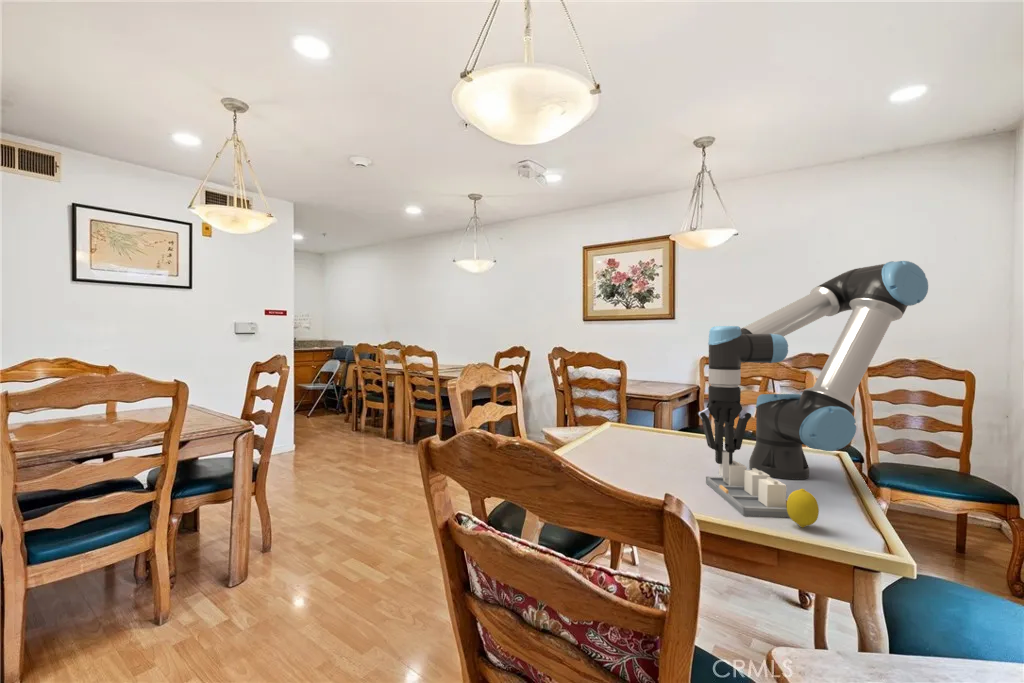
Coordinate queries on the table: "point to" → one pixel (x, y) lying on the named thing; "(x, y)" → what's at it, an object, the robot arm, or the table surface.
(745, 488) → the cream ridged block
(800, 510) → the lemon
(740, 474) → the tab
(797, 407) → the robot arm
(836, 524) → the table surface
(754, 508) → the frame
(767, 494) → the tab
